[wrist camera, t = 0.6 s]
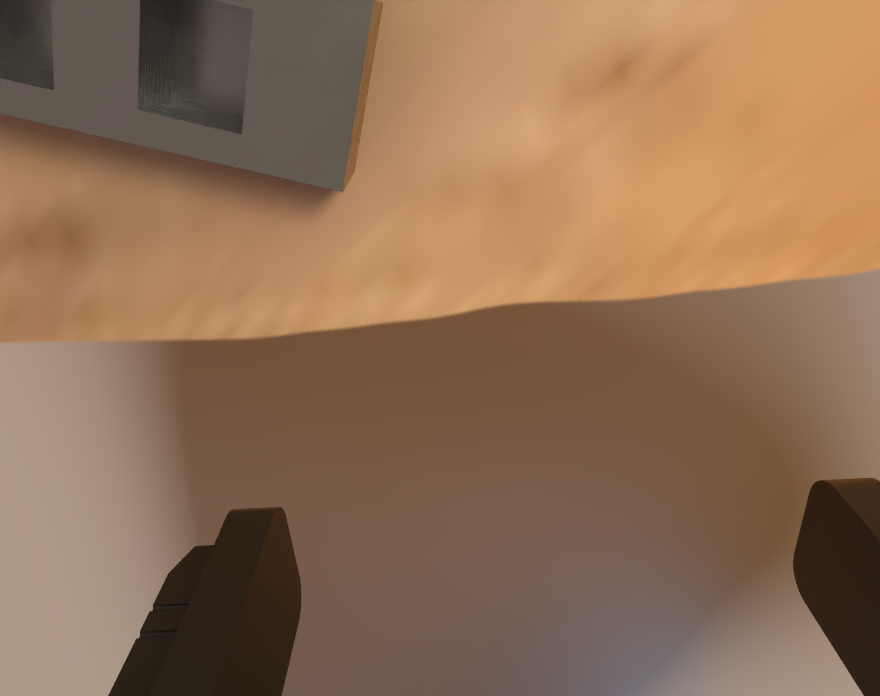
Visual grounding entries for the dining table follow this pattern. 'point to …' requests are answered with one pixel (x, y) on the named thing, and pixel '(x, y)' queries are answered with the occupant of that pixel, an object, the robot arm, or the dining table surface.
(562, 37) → the dining table surface
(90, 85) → the grey slotted block
